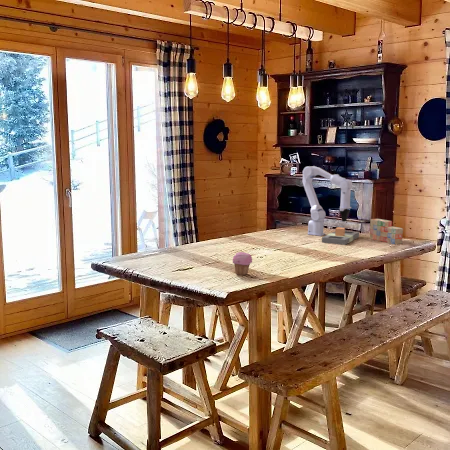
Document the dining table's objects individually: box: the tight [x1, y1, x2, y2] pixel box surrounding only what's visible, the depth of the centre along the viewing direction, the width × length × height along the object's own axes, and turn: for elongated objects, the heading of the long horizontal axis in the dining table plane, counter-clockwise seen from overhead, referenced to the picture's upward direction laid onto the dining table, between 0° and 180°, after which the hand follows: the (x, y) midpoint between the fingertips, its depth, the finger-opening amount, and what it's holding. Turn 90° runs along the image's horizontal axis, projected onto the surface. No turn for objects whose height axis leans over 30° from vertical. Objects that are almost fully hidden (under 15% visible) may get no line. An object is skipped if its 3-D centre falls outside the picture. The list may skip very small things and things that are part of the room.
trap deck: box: [321, 230, 360, 246], centre depth 329 cm, size 14×32×3 cm, turn 152°
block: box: [334, 226, 346, 236], centre depth 325 cm, size 4×4×4 cm
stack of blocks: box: [369, 218, 404, 245], centre depth 327 cm, size 21×6×12 cm, turn 28°
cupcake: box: [232, 251, 253, 276], centre depth 239 cm, size 9×9×10 cm
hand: (344, 221), depth 333 cm, fingers closed
